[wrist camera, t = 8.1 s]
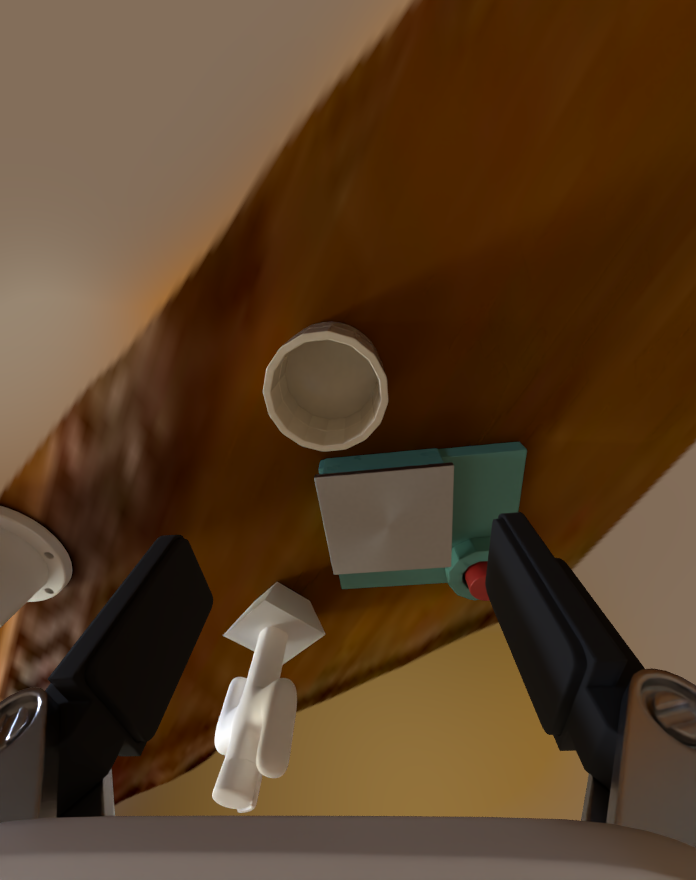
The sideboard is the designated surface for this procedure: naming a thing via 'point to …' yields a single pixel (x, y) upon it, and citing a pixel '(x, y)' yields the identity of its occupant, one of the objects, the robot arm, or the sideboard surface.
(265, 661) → the figurine
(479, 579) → the tare button
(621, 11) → the sideboard surface
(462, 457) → the scale
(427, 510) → the weighing plate
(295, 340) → the cup
